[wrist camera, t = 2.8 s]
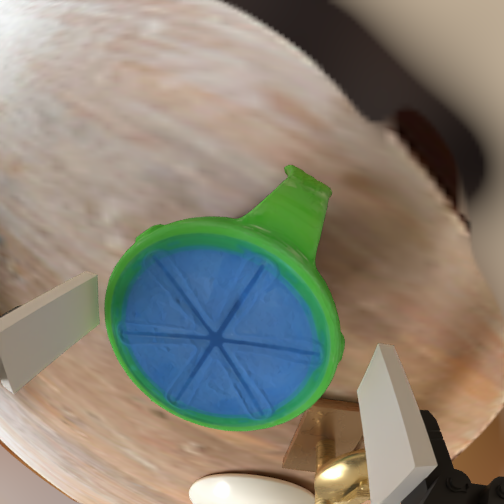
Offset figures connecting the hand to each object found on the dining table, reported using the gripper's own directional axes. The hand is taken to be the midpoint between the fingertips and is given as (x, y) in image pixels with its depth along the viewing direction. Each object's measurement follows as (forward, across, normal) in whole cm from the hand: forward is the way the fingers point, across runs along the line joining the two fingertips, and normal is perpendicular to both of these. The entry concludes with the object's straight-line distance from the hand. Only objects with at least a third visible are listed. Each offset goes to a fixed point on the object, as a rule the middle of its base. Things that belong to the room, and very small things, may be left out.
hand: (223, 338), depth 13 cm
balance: (+9, +10, -15) cm, 20 cm away
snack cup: (+10, 0, 0) cm, 10 cm away
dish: (+9, +6, -32) cm, 34 cm away
